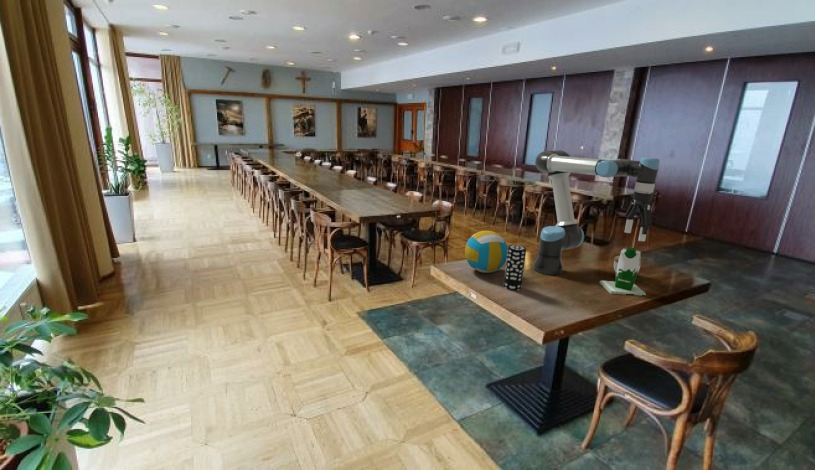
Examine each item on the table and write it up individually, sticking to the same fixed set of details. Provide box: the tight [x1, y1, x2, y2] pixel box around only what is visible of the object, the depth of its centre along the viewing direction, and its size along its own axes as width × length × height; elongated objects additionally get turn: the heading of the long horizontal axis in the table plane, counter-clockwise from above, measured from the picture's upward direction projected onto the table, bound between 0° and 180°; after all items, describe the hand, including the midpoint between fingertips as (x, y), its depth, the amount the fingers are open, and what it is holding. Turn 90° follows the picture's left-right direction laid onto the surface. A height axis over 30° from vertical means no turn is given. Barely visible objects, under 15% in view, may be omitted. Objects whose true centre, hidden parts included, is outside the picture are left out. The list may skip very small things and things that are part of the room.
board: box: [599, 280, 647, 296], centre depth 195 cm, size 16×13×1 cm
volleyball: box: [464, 230, 508, 274], centre depth 207 cm, size 22×22×22 cm
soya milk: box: [614, 247, 641, 291], centre depth 192 cm, size 9×9×20 cm
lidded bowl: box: [613, 255, 642, 273], centre depth 211 cm, size 13×13×11 cm
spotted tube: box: [503, 244, 527, 292], centre depth 189 cm, size 8×8×20 cm
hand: (634, 236), depth 187 cm, fingers open, 13 cm apart
